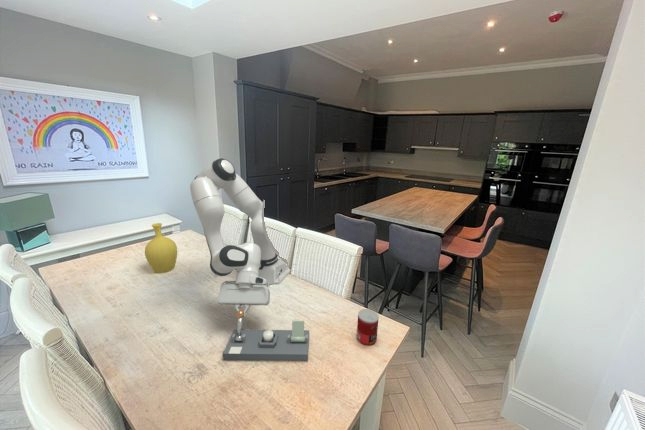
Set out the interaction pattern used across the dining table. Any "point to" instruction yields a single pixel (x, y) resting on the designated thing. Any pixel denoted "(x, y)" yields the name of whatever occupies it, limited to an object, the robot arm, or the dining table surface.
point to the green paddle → (297, 331)
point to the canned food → (367, 326)
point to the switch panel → (266, 347)
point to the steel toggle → (239, 326)
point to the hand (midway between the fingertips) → (241, 316)
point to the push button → (268, 335)
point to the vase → (161, 252)
